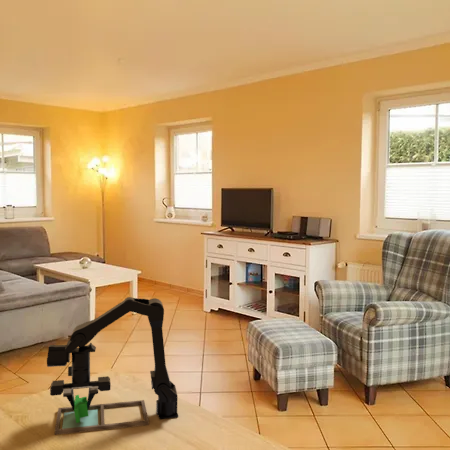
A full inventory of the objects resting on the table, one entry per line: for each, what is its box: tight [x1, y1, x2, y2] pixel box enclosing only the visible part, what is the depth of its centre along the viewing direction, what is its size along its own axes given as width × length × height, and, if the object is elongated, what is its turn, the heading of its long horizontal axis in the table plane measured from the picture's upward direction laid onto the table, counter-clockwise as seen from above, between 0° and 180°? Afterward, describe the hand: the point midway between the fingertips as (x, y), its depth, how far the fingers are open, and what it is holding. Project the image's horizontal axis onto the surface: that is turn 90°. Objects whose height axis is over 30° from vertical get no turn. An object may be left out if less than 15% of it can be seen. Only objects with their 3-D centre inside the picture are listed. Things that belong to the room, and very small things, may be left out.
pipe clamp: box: [73, 394, 89, 423], centre depth 159 cm, size 11×4×5 cm, turn 15°
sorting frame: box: [54, 399, 150, 435], centre depth 160 cm, size 29×16×1 cm, turn 105°
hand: (81, 410), depth 158 cm, fingers closed on pipe clamp, 4 cm apart
